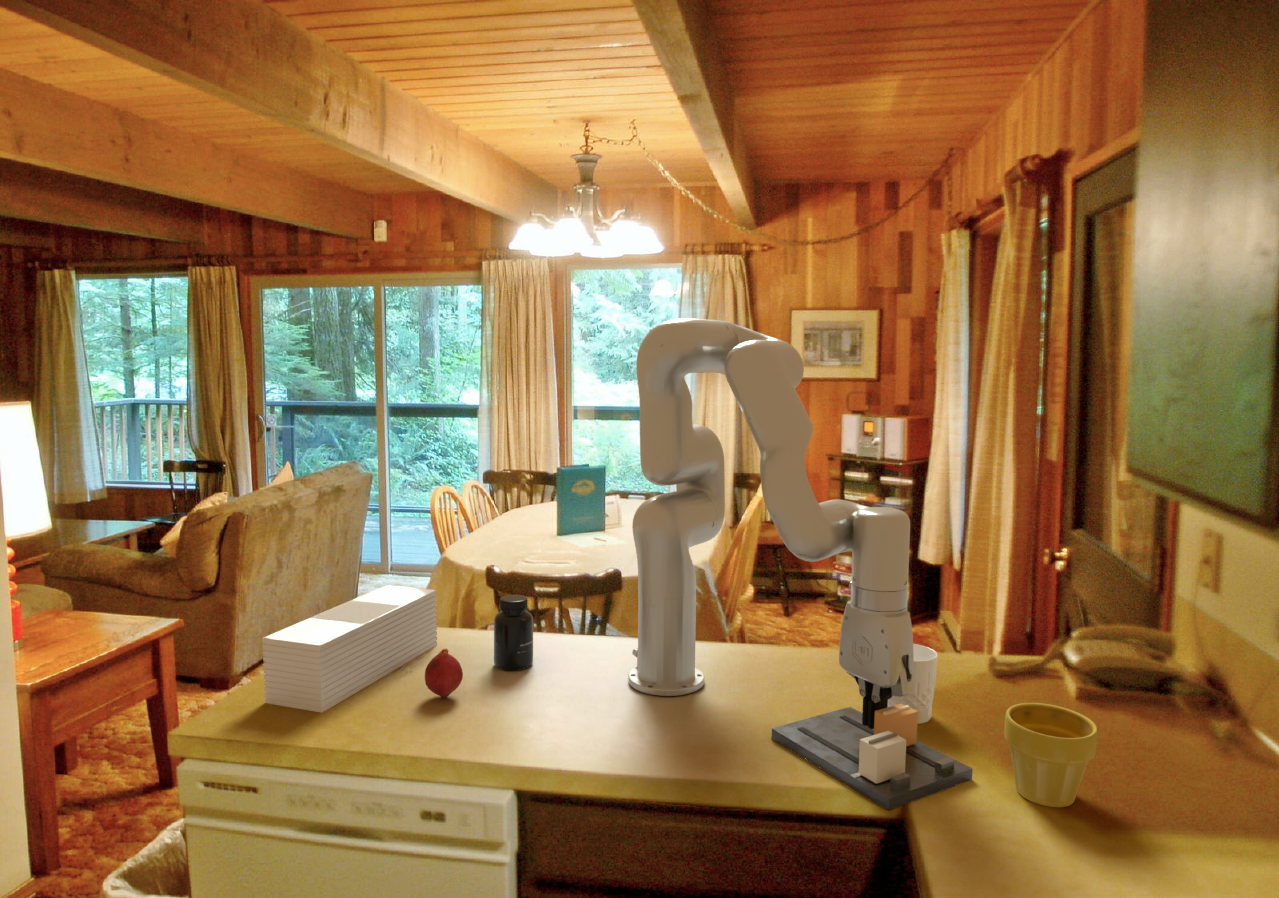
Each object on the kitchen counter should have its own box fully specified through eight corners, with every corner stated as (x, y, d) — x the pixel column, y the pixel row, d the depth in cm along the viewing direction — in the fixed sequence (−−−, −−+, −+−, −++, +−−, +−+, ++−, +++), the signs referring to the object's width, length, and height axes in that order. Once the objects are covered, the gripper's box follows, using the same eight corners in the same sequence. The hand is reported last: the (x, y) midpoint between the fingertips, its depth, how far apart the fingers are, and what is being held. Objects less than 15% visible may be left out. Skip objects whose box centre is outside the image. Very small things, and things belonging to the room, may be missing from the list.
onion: (436, 708, 130) (435, 657, 129) (418, 696, 134) (417, 647, 133) (469, 698, 134) (468, 649, 133) (451, 687, 138) (450, 639, 137)
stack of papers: (322, 714, 128) (319, 645, 127) (265, 704, 132) (262, 637, 130) (437, 645, 158) (435, 589, 157) (388, 639, 162) (387, 584, 161)
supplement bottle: (530, 672, 145) (529, 603, 144) (490, 671, 145) (489, 603, 144) (535, 657, 152) (535, 592, 150) (497, 657, 152) (497, 592, 151)
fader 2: (858, 773, 107) (859, 736, 106) (887, 763, 109) (888, 728, 109) (876, 783, 104) (877, 746, 104) (904, 773, 107) (906, 737, 106)
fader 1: (873, 742, 115) (874, 708, 115) (899, 734, 118) (901, 701, 117) (890, 751, 113) (891, 716, 112) (916, 742, 115) (918, 709, 115)
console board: (771, 738, 120) (771, 720, 120) (849, 716, 128) (850, 699, 128) (888, 810, 101) (889, 788, 101) (971, 779, 109) (973, 759, 109)
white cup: (938, 728, 124) (941, 662, 123) (882, 723, 125) (885, 658, 124) (931, 706, 132) (933, 644, 130) (878, 702, 133) (880, 641, 132)
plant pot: (1112, 811, 102) (1118, 733, 100) (1036, 820, 99) (1041, 741, 98) (1053, 770, 112) (1058, 698, 111) (983, 777, 109) (987, 705, 108)
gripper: (821, 588, 121) (817, 711, 123) (901, 615, 108) (896, 752, 110) (859, 581, 125) (855, 700, 127) (941, 607, 112) (935, 739, 114)
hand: (874, 724), depth 119 cm, fingers closed
